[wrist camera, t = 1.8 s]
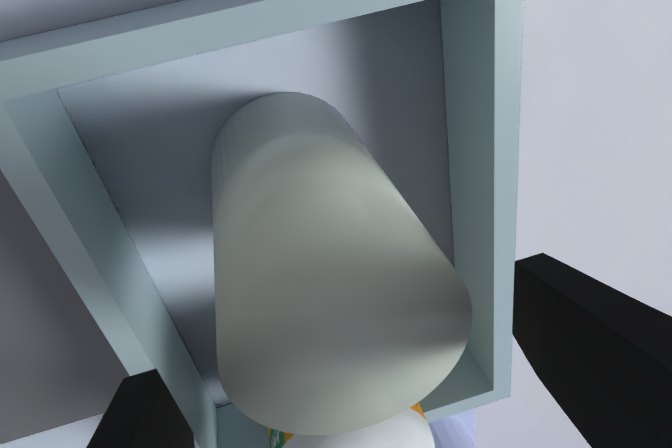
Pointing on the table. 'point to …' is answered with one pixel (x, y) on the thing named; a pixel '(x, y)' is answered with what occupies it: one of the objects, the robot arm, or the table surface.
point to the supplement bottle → (367, 435)
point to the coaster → (45, 335)
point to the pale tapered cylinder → (323, 275)
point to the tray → (225, 31)
